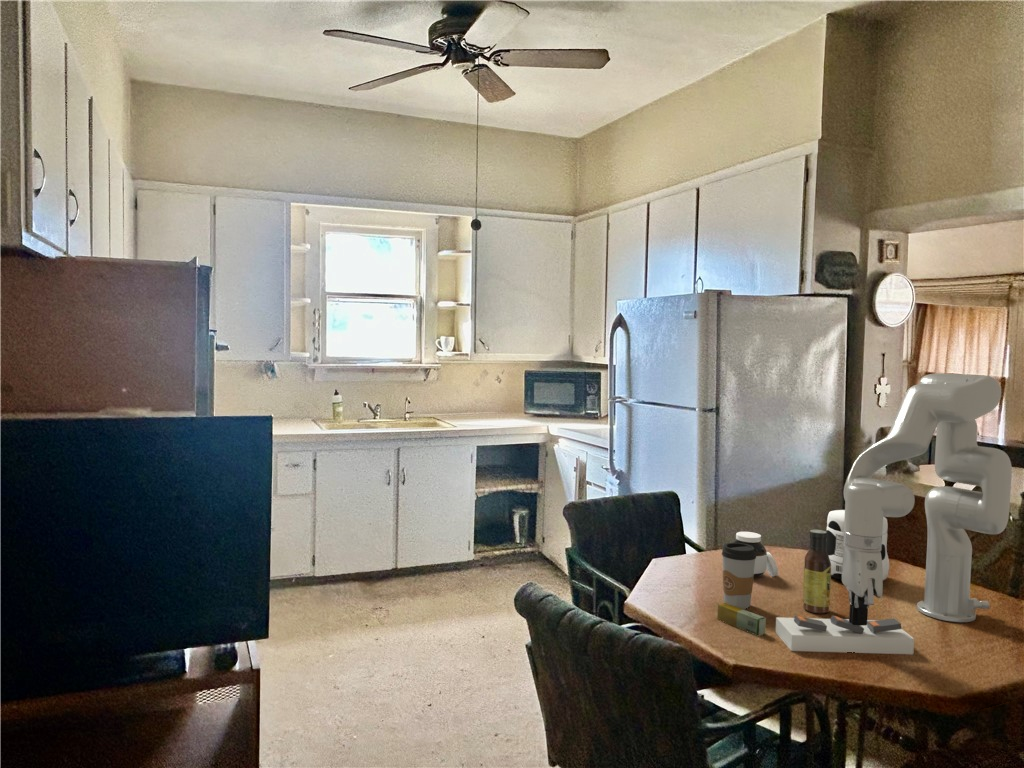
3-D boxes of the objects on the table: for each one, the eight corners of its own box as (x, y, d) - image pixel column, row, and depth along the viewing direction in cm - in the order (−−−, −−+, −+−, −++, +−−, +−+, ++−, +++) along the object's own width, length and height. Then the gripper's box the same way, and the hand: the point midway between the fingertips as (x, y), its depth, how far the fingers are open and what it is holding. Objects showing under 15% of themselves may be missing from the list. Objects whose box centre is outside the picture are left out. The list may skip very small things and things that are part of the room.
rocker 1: (820, 626, 160) (821, 620, 160) (825, 631, 157) (827, 625, 157) (793, 620, 160) (794, 614, 160) (798, 626, 157) (799, 620, 157)
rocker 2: (894, 623, 160) (893, 617, 160) (901, 628, 157) (900, 622, 157) (867, 627, 160) (866, 621, 160) (873, 632, 157) (873, 626, 157)
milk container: (875, 570, 213) (878, 510, 212) (898, 590, 196) (901, 525, 195) (814, 567, 216) (816, 507, 215) (831, 586, 199) (834, 521, 198)
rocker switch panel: (890, 635, 165) (890, 619, 165) (913, 654, 155) (914, 637, 155) (775, 632, 166) (776, 616, 166) (791, 650, 156) (791, 634, 156)
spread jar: (724, 571, 210) (725, 531, 210) (752, 566, 216) (754, 527, 215) (756, 583, 200) (757, 542, 199) (784, 578, 205) (786, 537, 205)
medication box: (766, 634, 165) (767, 617, 165) (758, 637, 164) (759, 619, 164) (723, 617, 175) (724, 601, 175) (716, 619, 174) (716, 603, 173)
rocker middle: (856, 628, 160) (858, 622, 160) (862, 633, 157) (864, 628, 157) (830, 620, 160) (832, 614, 160) (835, 625, 157) (837, 619, 157)
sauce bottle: (832, 616, 177) (835, 535, 176) (805, 613, 178) (808, 534, 177) (826, 606, 183) (829, 529, 182) (800, 604, 185) (803, 527, 183)
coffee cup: (712, 602, 185) (714, 544, 184) (737, 597, 189) (739, 540, 188) (736, 613, 178) (738, 553, 177) (761, 608, 181) (763, 549, 180)
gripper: (897, 551, 150) (892, 638, 151) (863, 532, 164) (859, 612, 165) (860, 550, 150) (856, 637, 151) (830, 531, 165) (826, 610, 166)
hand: (857, 623), depth 158 cm, fingers closed
